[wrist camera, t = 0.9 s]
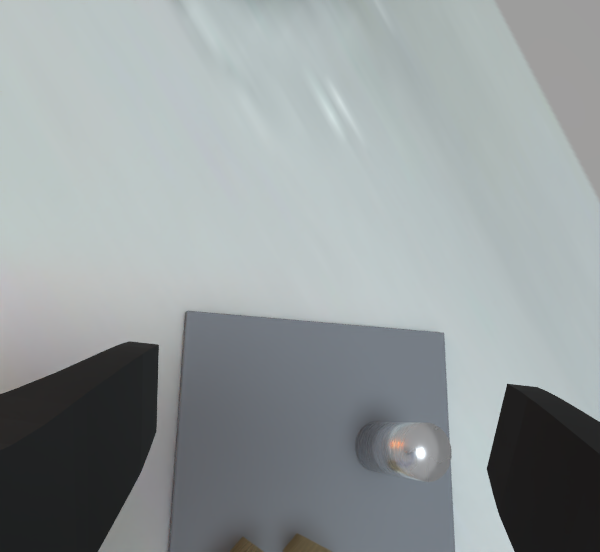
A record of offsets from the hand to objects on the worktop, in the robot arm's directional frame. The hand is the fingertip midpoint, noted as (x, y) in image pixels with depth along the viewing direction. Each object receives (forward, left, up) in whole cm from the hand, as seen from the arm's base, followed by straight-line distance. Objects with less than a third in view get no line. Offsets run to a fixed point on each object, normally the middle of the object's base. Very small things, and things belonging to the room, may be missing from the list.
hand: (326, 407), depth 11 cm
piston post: (-1, -8, -13) cm, 15 cm away
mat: (-3, -6, -13) cm, 14 cm away
